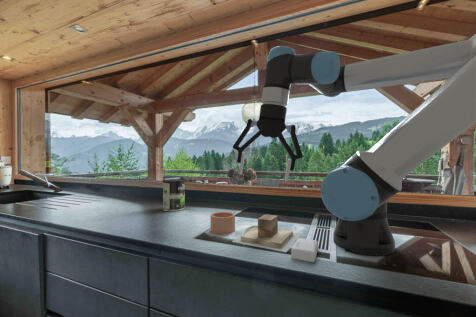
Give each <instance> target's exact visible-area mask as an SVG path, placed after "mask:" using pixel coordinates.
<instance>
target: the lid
mask: <svg viewBox="0 0 476 317" xmlns="http://www.w3.org/2000/svg"><path fill="white" fill-rule="evenodd" d="M278 220H279V217H278V215H276V214H275V215H274V214H273V215H272V214H263V215H262V216H260V217H258V218H257V226H256V227H255V226H254V227H255V228H254V227H253V228H254V229H253V228H251V229H252V230H251V229H250V230H251V231H249V230H248V231H249V232H248V231H246V232H247V233H246V232H245V233H246V234H245V233H243V234H244V235H243V234H242V235H243V236H241V235H240V236H241V241H246V242H251V243H256V244H262V245H267V246H272V247H278V248H282V247H283V246H284V244H285V243H286V242H287V241H288V240H289V239H290V238H291V237H292V236H293V233H294V231H293V230H286V229H281V228H278V224H279V223H278V222H279V221H278Z"/></svg>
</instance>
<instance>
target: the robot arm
mask: <svg viewBox="0 0 476 317" xmlns="http://www.w3.org/2000/svg"><path fill="white" fill-rule="evenodd" d="M265 66H266V67H265V76H264V84H263V89H262V94H261V103H262V104H261V105H260V110H259V115H258V119H257V120H252V119H251V118H249V119H248V120H247V122H246V126H245V127H244V129H243V131H242V132H241V133H240V135H239V136H238V138H237V139H236V141H235V142H234V144H233V145H232V149H233V150H236V151H237V152H238V153H237V160H236V161H237V164H240V165H239V172H238V175H240V176H241V175H243V173H244V164H245V155H246V152H244V150H246V149H247V147H249V146H250V145H251V144H253V143H254V142H255V140H257V139H258V138H259V137H261V136H262V137H264V138H271V139H277V138H278V140H279V141H280V143H281V145H282V146H283V148H284V150H285V151H286V153H287V154H288V156H289V157H290V158H287V161H286V162H287V163H286V169H285V175H284V181H285V183H289V178H290V173H291V171H294V170H295V164H296V160H299V159H303V157H304V156H303V153H302V149H301V146H300V143H299V139H298V137H297V134H296V128H297V126H296V125H295V124H290V125H288V124H287V125H286V118H287V111H288V109H287V106H288V104H289V97H290V91H291V85H309V86H310V87H312V88H313V89H315V90H316V91H317V92H318V93H320V94H321V95H322V96H324V97H327V98H335V97H337V96H339V95H340V94H342V93H349V92H354V91H355V92H356V91H357V92H358V91H362V90H369V89H371V90H372V89H378V88H386V87H392V86H400V85H406V84H407V85H408V84H414V83H415V84H416V83H421V82H428V81H435V80H444V79H447V80H446V81H445V82H443V84H442V85H441V86H439V87H438V88H437V89H436V90H435V91H434V92H432V93H431V95H429V96H428V97H427V98H425V100H424V101H423V102H422V103H420V104H419V105H417V107H416V108H415V109H414V110H412V111H411V113H409V114H408V115H407V116H406V117H405V118H403V120H401V121H400V122H399V123H398V124H397V125H395V126H394V128H392V129H391V130H390V131H389V132H388V133H387V134H385V135H384V136H383V138H381V139H380V140H379V141H378V142H377V143H375V145H373V146H372V147H371V148H370V149H368V150H357V151H356V152H355V153H353V155H351V157H350V158H348V159H347V160H346V161H342V162H341V163H340V164H339V167H337V168H334V169H332V170H331V171H330V172H328V174H327V175H326V176H325V177H323V180H322V182H321V186H320V197H321V199H322V203H323V204H324V206H325V208H326V209H327V210H328V212H330V213H331V214H332V215H334V217H336V218H338V219H337V222H336V225H335V228H334V229H333V234H332V236H333V237H332V238H333V242H334V244H335V245H336V246H338V247H339V248H341V249H344V250H346V251H348V252H352V253H355V254H360V255H365V256H366V255H367V256H381V257H382V256H388V255H392V254H394V253H395V252H396V241H395V239H394V235H393V233H392V230H391V227H390V225H389V222H388V200H390V199H391V198H392V197H394V196H395V195H397V194H398V193H399V192H401V191H402V190H403V184H402V182H403V179H405V177H407V176H409V174H411V173H412V172H413V171H415V170H416V169H417V168H418V167H420V166H422V165H423V164H424V163H425V162H426V161H427V160H429V159H430V158H432V157H433V156H434V155H436V154H437V153H438V152H440V151H441V150H442V149H443V148H445V147H446V146H447V145H448V144H450V143H451V142H452V141H453V140H455V139H456V138H457V137H459V136H460V135H461V134H463V133H464V132H465V131H467V130H468V129H469V128H471V127H472V126H473V125H474V124H475V123H476V33H475V34H474V35H473V36H472V37H471V38H469V39H465V40H461V41H457V42H456V41H455V42H451V43H446V44H442V45H436V46H431V47H428V48H421V49H415V50H412V51H408V52H407V51H406V52H403V53H402V52H401V53H397V54H393V55H388V56H382V57H378V58H372V59H367V60H363V61H357V62H354V63H349V64H345V65H341V60H340V55H339V53H338V52H336V51H319V52H311V53H301V54H296V51H295V49H294V48H292V47H290V46H282V45H278V46H274V47H272V48H270V50H269V52H268V57H267V61H266V65H265ZM254 126H256V127H257V129H258V131H257V132H256V133H255V134H254V135H252V136H251V137H250V138H249V139H248V140H247V141H246V142H244V144H242V145H241V143H242V142H243V140H244V139H245V137H246V136H247V134H248V133H249V131H250V130H251V128H254ZM285 130H287V132H288V133H289V134H290V135H289V136H290V139H291V141H292V144H293V148H294V150H295V153H294V152H293V150H292V149H291V146H290V145H289V144H288V143H289V142H288V141H287V140H286V139H285V137H284V135H283V133H284V131H285ZM240 145H241V146H240Z"/></svg>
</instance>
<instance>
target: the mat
mask: <svg viewBox="0 0 476 317" xmlns="http://www.w3.org/2000/svg"><path fill="white" fill-rule="evenodd" d="M254 228H255V226H254V227H253V228H251V229H249V230H248V231H246V232H245V233H243V234H242V235H240V236H238V237H237V238H235V239H233V240H232V241H231V243H237V244H240V245H241V244H242V245H245V246H251V247H257V248H261V249H262V248H263V249H266V250H272V251H276V252H281V253H287V252H288V251H289V250H291V249H290V248H292V247H293V246H294V244H295V242H296V240H297V239H298V238H300V236H301V235H302V233H296V232H293V236H292V237H291V238H290V239H289V240H288V241H287V242H286V243H285V244H284V246H283V247H282V248H278V247H272V246H267V245H262V244H256V243H251V242H246V241H241V236H243V235H244V234H246V233H247V232H249V231H251V230H252V229H254Z"/></svg>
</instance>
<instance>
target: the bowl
mask: <svg viewBox="0 0 476 317" xmlns="http://www.w3.org/2000/svg"><path fill="white" fill-rule="evenodd" d="M210 232H211V233H213V234H216V235H228V234H233V233H234V232H236V214H235V213H233V212H230V211H218V212H214V213H211V214H210Z"/></svg>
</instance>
